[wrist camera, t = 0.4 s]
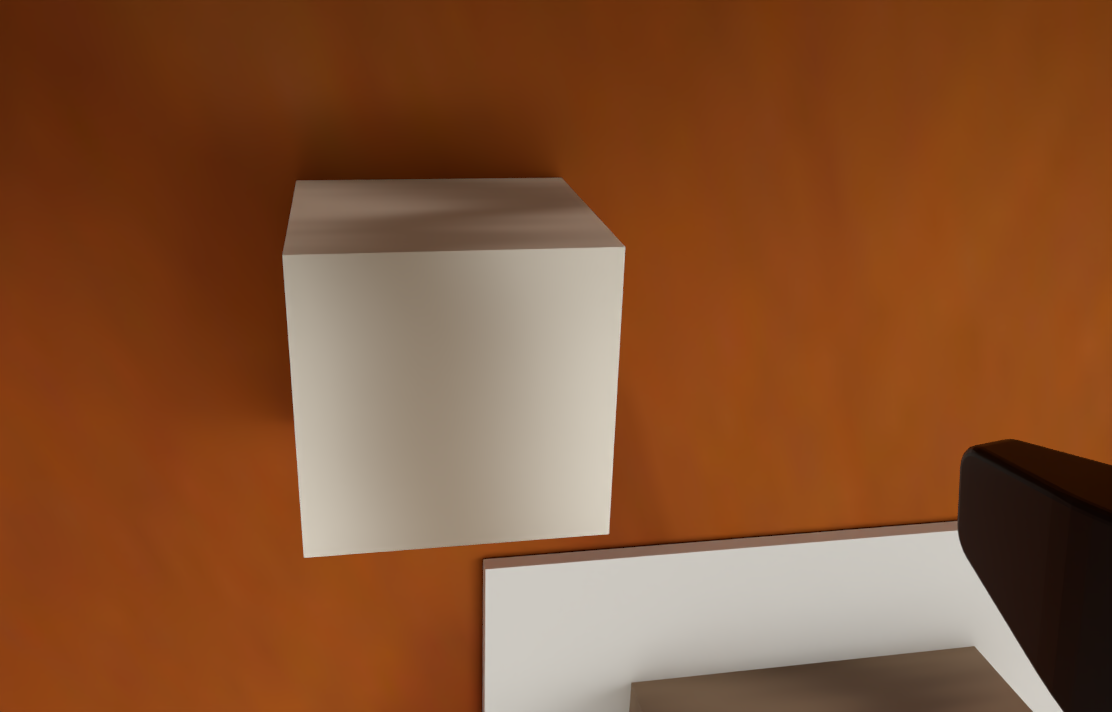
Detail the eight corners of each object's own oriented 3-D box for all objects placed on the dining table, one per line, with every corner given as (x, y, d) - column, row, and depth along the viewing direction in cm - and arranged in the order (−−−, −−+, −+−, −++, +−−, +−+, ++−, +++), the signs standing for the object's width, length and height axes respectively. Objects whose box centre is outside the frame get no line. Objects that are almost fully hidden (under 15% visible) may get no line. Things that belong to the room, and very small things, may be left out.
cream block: (561, 176, 20) (625, 246, 15) (552, 410, 22) (608, 534, 17) (296, 179, 19) (282, 255, 14) (311, 423, 21) (304, 558, 16)
